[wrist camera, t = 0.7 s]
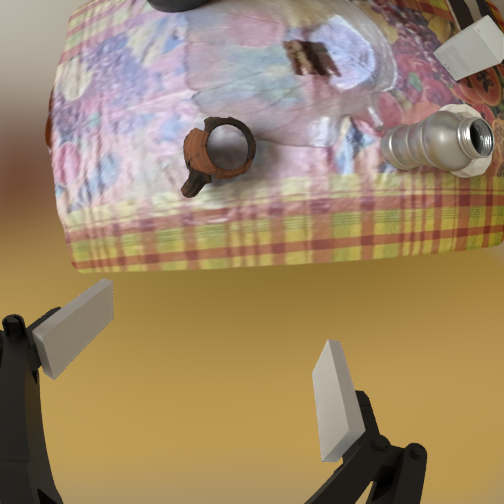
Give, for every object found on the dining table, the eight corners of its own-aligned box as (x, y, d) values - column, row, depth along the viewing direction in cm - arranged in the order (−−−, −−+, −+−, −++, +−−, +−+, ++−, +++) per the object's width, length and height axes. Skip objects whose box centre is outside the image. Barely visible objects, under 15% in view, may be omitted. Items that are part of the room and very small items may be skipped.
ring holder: (434, 93, 30) (444, 88, 27) (484, 123, 29) (495, 122, 26) (426, 162, 33) (437, 162, 30) (477, 187, 33) (489, 189, 30)
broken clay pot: (197, 113, 35) (214, 97, 28) (248, 143, 40) (275, 136, 33) (157, 184, 36) (165, 185, 29) (213, 211, 41) (234, 219, 33)
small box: (455, 82, 28) (500, 64, 16) (431, 53, 27) (471, 26, 15) (472, 64, 26) (513, 47, 14) (450, 37, 25) (487, 13, 13)
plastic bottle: (420, 159, 33) (511, 159, 14) (387, 177, 35) (473, 187, 16) (402, 120, 32) (486, 93, 13) (367, 137, 34) (443, 112, 15)
